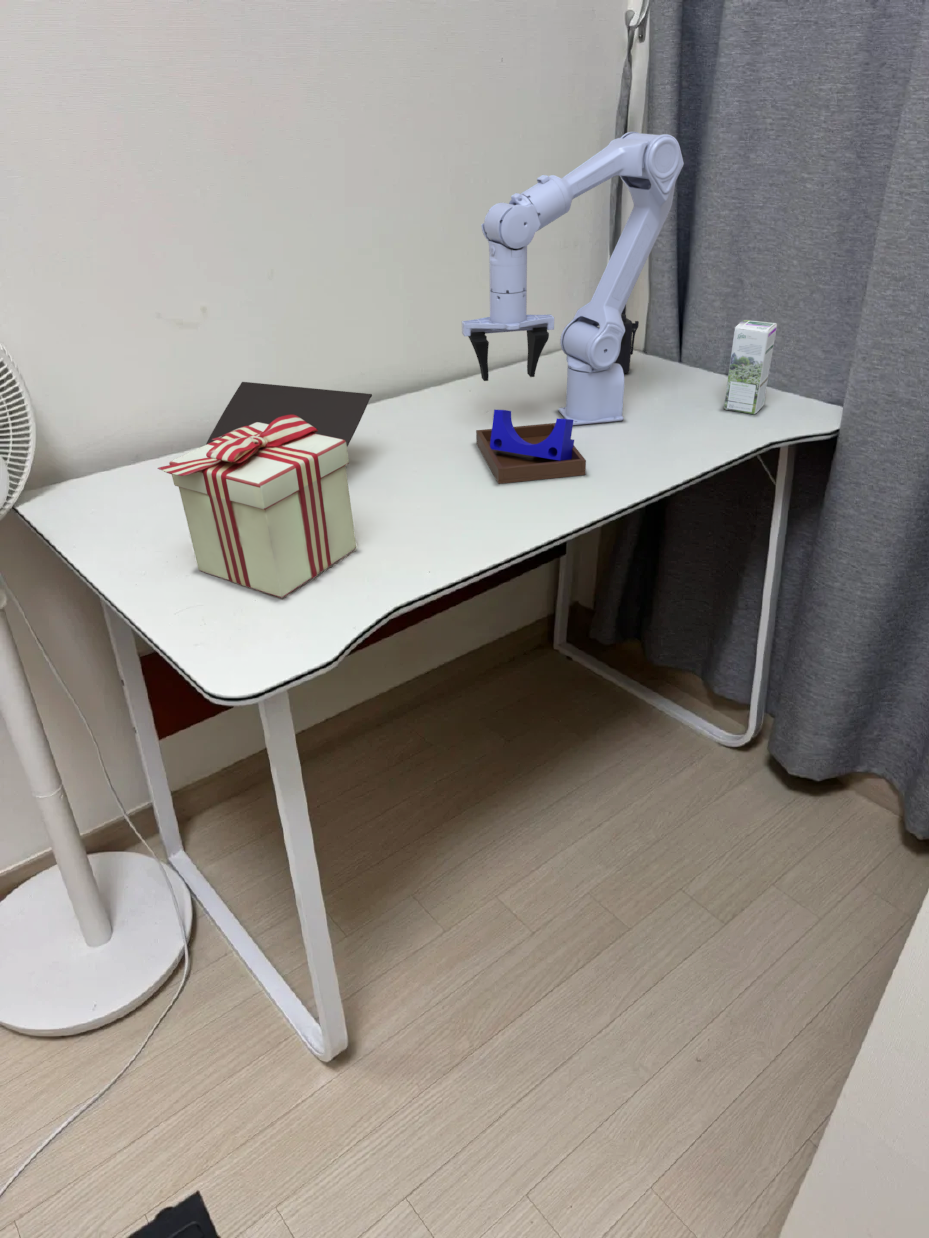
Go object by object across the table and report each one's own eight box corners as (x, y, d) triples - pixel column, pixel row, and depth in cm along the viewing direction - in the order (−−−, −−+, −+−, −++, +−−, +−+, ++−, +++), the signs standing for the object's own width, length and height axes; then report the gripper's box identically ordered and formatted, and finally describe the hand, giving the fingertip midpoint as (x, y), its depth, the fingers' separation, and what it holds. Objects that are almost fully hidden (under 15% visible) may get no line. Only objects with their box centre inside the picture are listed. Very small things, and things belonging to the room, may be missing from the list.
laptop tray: (198, 521, 132) (170, 483, 125) (258, 413, 143) (236, 371, 135) (331, 542, 125) (310, 502, 118) (384, 426, 136) (368, 383, 128)
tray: (555, 436, 143) (555, 422, 141) (585, 475, 129) (586, 460, 128) (476, 444, 141) (476, 430, 139) (498, 484, 127) (498, 469, 126)
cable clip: (571, 459, 132) (577, 419, 131) (560, 460, 129) (566, 420, 127) (502, 448, 138) (507, 409, 136) (489, 448, 134) (494, 409, 132)
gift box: (252, 519, 119) (231, 398, 110) (364, 546, 112) (351, 418, 102) (164, 575, 107) (131, 443, 97) (283, 609, 99) (260, 470, 90)
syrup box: (764, 405, 152) (778, 321, 145) (754, 415, 148) (768, 330, 140) (732, 400, 155) (744, 318, 147) (722, 410, 151) (734, 326, 143)
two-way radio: (611, 367, 174) (616, 289, 166) (633, 367, 173) (640, 289, 165) (612, 375, 169) (618, 296, 161) (635, 375, 169) (642, 296, 161)
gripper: (466, 298, 128) (469, 388, 135) (560, 292, 130) (557, 380, 137) (458, 288, 134) (460, 375, 141) (548, 282, 136) (546, 368, 143)
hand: (508, 377), depth 140 cm, fingers open, 7 cm apart
